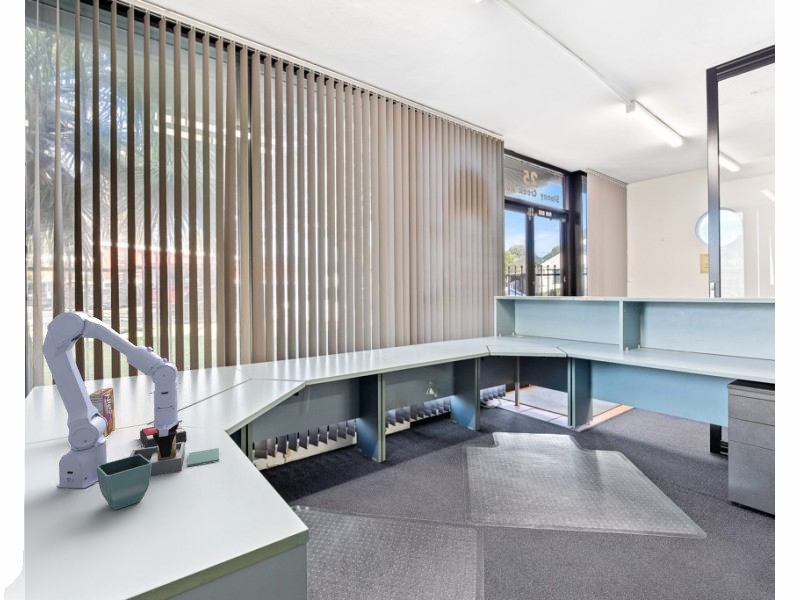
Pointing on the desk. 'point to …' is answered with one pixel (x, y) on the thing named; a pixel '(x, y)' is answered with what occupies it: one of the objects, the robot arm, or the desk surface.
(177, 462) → the organiser box
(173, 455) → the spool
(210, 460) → the mat
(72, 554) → the desk surface
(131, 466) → the flower pot
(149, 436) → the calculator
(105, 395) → the candy box
